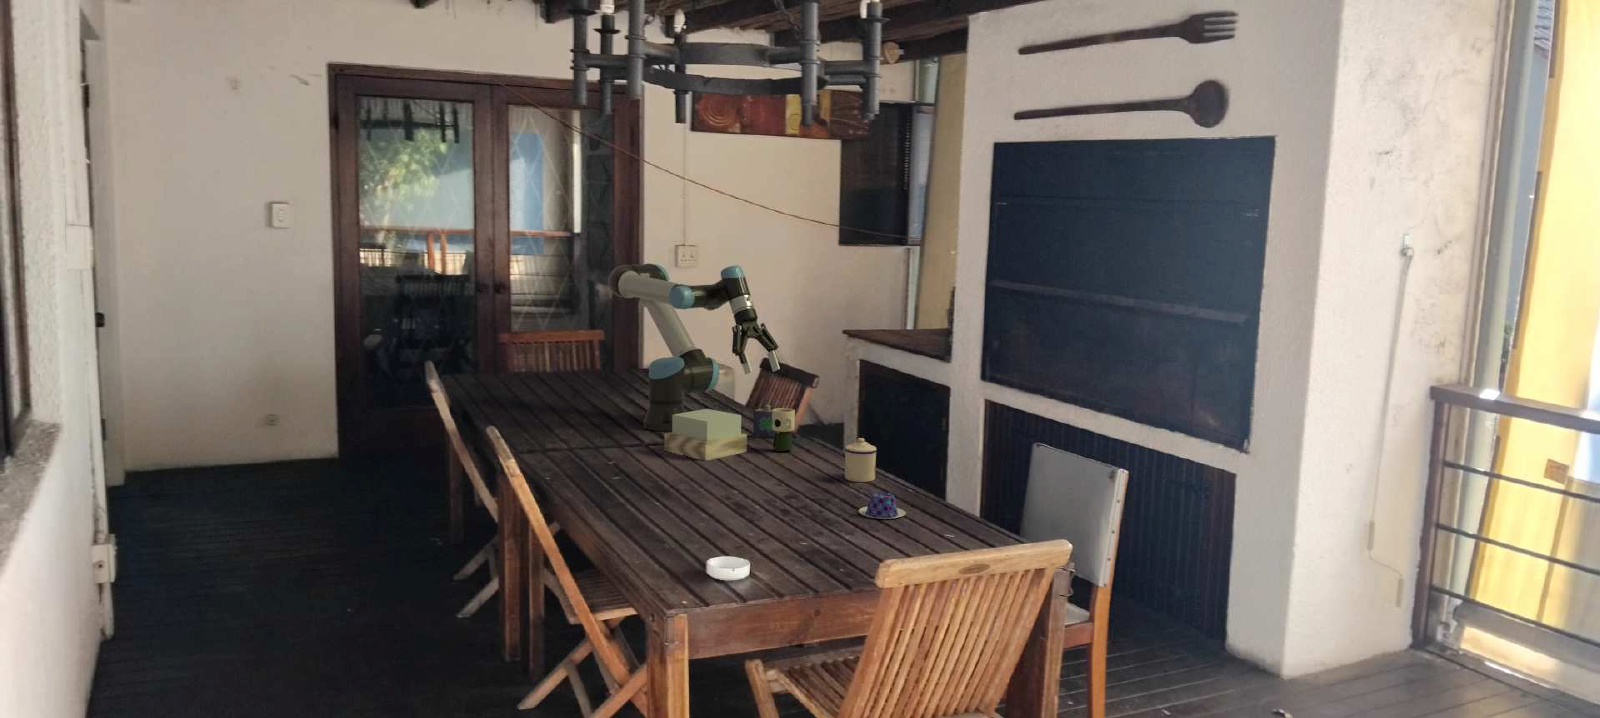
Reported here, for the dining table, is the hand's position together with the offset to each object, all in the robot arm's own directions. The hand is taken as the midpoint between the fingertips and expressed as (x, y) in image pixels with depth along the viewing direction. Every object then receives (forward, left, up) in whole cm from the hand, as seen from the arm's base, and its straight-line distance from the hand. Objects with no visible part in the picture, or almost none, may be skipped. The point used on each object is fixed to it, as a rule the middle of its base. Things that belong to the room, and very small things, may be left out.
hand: (762, 371), depth 389 cm
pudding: (+84, -47, -22) cm, 99 cm away
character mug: (+18, -10, -22) cm, 30 cm away
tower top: (+2, -28, -16) cm, 33 cm away
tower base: (+2, -28, -22) cm, 36 cm away
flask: (+1, +2, -22) cm, 22 cm away
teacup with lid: (+56, -21, -22) cm, 64 cm away
